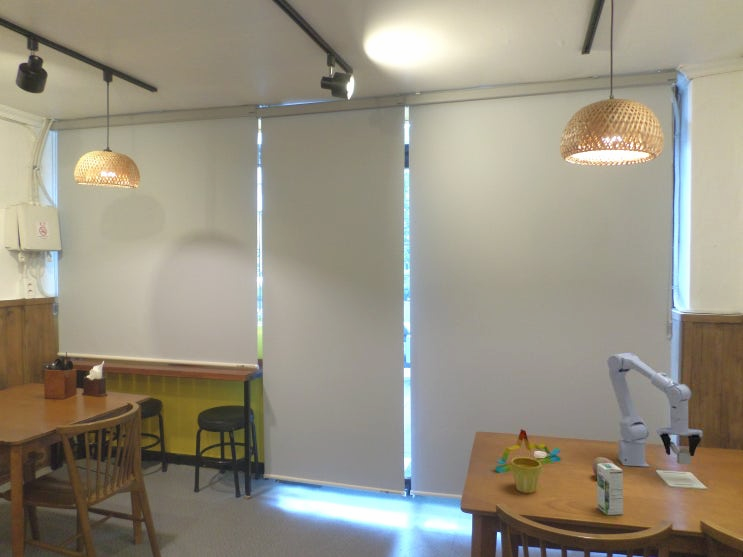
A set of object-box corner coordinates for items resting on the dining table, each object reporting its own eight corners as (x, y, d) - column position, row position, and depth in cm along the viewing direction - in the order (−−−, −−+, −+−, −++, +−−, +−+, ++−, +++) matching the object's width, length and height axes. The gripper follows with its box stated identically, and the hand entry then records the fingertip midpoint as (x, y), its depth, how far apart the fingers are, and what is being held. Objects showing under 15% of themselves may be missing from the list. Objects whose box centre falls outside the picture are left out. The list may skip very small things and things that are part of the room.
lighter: (688, 462, 182) (687, 440, 182) (691, 464, 180) (690, 442, 180) (668, 462, 182) (668, 441, 182) (671, 464, 180) (670, 442, 180)
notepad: (669, 486, 175) (669, 485, 175) (655, 471, 189) (655, 470, 189) (706, 489, 173) (706, 487, 173) (690, 473, 186) (690, 472, 186)
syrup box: (596, 507, 161) (595, 463, 161) (613, 506, 161) (613, 462, 161) (606, 515, 155) (605, 470, 155) (624, 514, 156) (623, 469, 156)
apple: (618, 484, 178) (617, 462, 178) (595, 482, 180) (595, 461, 180) (612, 475, 186) (611, 454, 186) (590, 474, 187) (590, 453, 187)
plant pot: (541, 485, 179) (541, 458, 179) (541, 497, 169) (541, 469, 169) (512, 481, 182) (511, 455, 182) (510, 493, 172) (509, 465, 172)
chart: (555, 458, 205) (554, 422, 205) (560, 461, 202) (560, 425, 202) (494, 470, 193) (494, 433, 193) (499, 473, 190) (499, 435, 190)
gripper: (661, 420, 178) (661, 457, 178) (706, 422, 175) (706, 459, 175) (654, 414, 185) (655, 450, 185) (697, 416, 182) (698, 452, 182)
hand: (679, 454), depth 181 cm, fingers closed on lighter, 7 cm apart
